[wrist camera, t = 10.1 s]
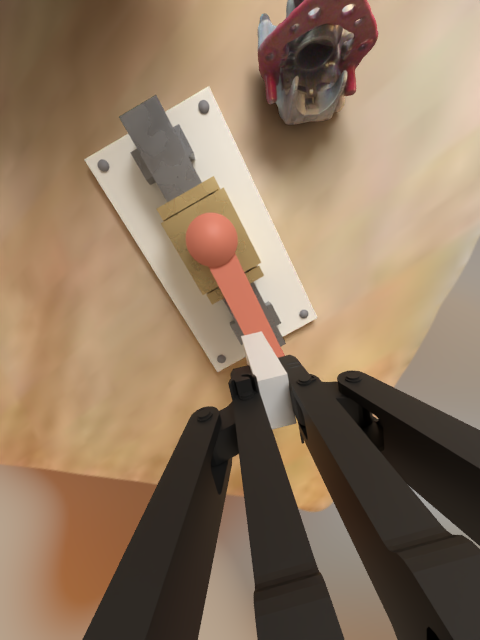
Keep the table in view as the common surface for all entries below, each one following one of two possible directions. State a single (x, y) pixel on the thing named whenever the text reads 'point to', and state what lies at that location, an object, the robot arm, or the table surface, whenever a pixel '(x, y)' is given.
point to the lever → (228, 272)
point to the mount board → (145, 227)
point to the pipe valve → (189, 200)
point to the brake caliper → (314, 56)
